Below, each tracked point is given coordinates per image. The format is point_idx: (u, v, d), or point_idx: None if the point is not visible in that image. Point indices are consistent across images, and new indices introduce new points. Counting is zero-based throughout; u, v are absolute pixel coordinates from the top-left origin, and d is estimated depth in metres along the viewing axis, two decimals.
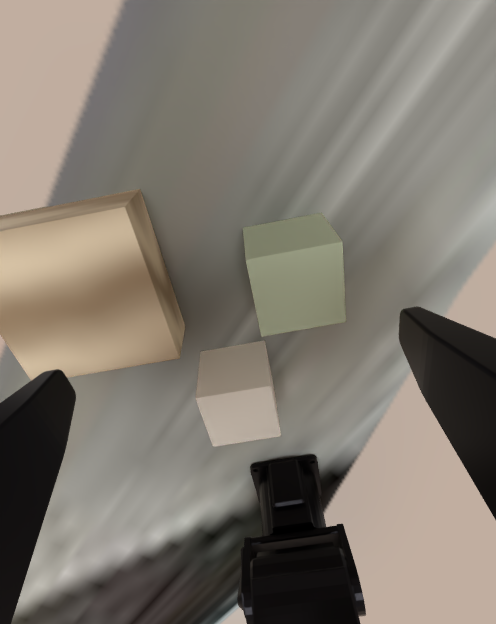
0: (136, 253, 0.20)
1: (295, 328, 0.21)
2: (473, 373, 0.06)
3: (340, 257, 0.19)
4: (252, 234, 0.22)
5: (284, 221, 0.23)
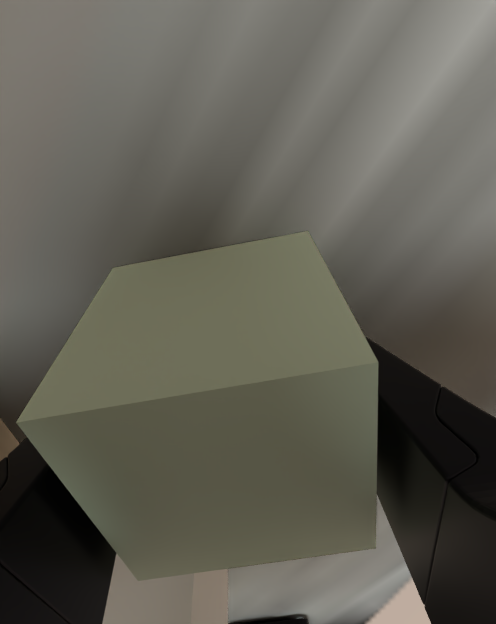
0: None
1: (232, 564, 0.07)
2: None
3: (367, 409, 0.05)
4: (115, 295, 0.08)
5: (213, 254, 0.09)
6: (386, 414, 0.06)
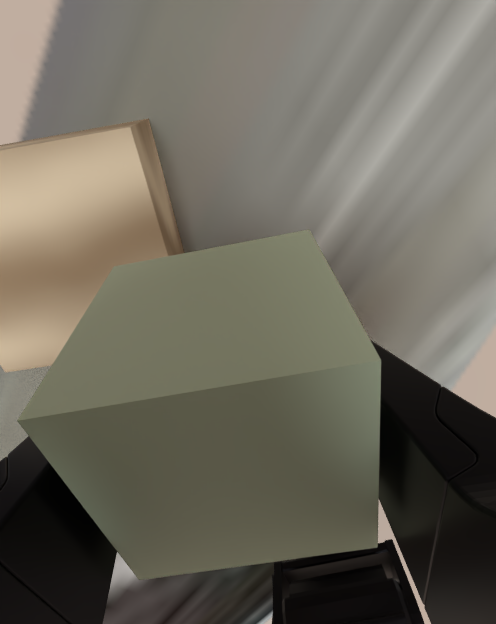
0: (144, 196, 0.15)
1: (233, 563, 0.07)
2: None
3: (370, 407, 0.05)
4: (116, 294, 0.08)
5: (214, 253, 0.09)
6: (386, 414, 0.06)
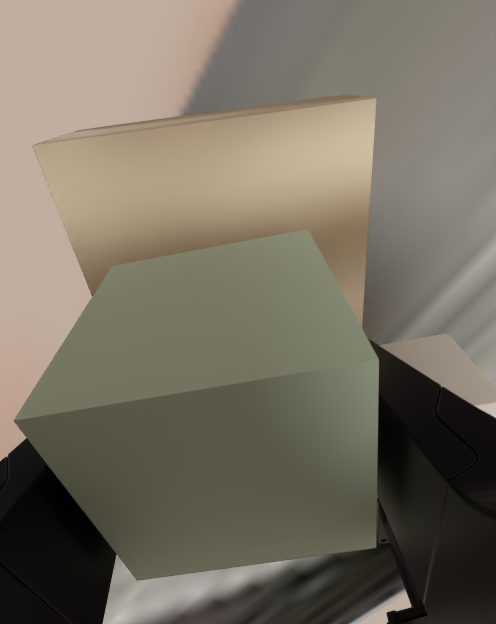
0: (362, 188, 0.12)
1: (231, 563, 0.07)
2: None
3: (368, 407, 0.05)
4: (115, 293, 0.08)
5: (212, 253, 0.09)
6: (386, 414, 0.06)
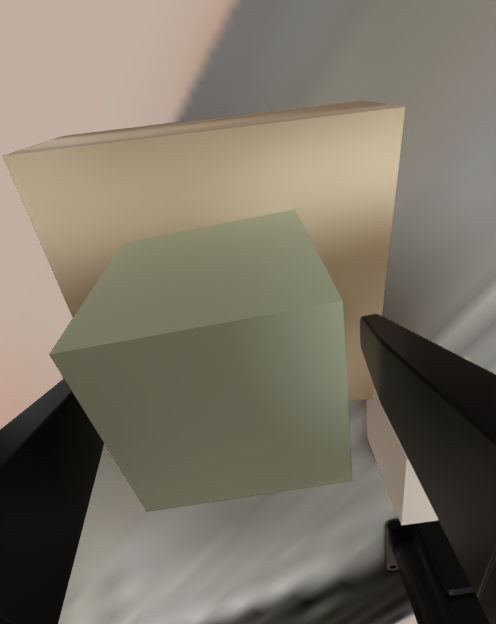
0: (384, 209, 0.10)
1: (228, 495, 0.09)
2: (416, 382, 0.07)
3: (336, 343, 0.06)
4: (125, 264, 0.09)
5: (210, 230, 0.10)
6: (444, 405, 0.06)
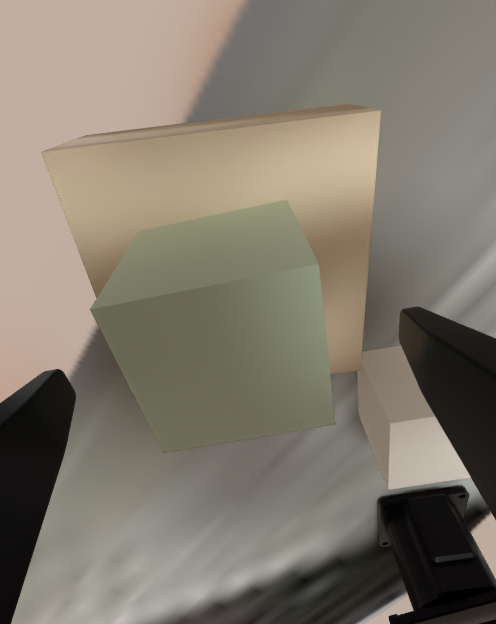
0: (365, 198, 0.12)
1: (231, 437, 0.10)
2: (473, 373, 0.06)
3: (316, 299, 0.08)
4: (144, 246, 0.11)
5: (215, 218, 0.12)
6: None
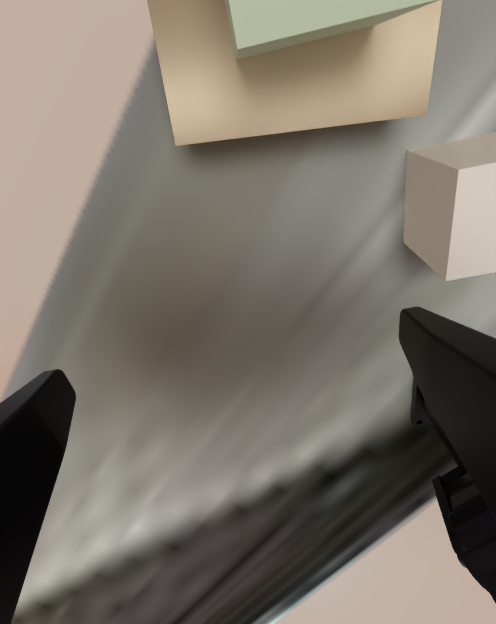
0: None
1: (320, 20, 0.09)
2: (473, 373, 0.07)
3: None
4: None
5: None
6: None
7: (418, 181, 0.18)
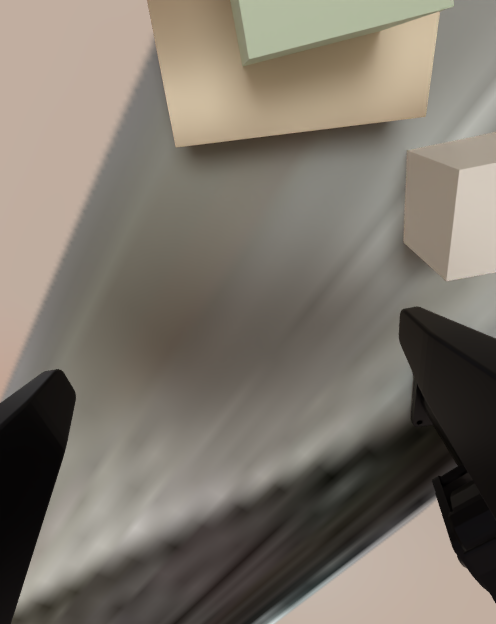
0: None
1: (330, 29, 0.09)
2: (473, 373, 0.07)
3: None
4: None
5: None
6: None
7: (418, 181, 0.18)
